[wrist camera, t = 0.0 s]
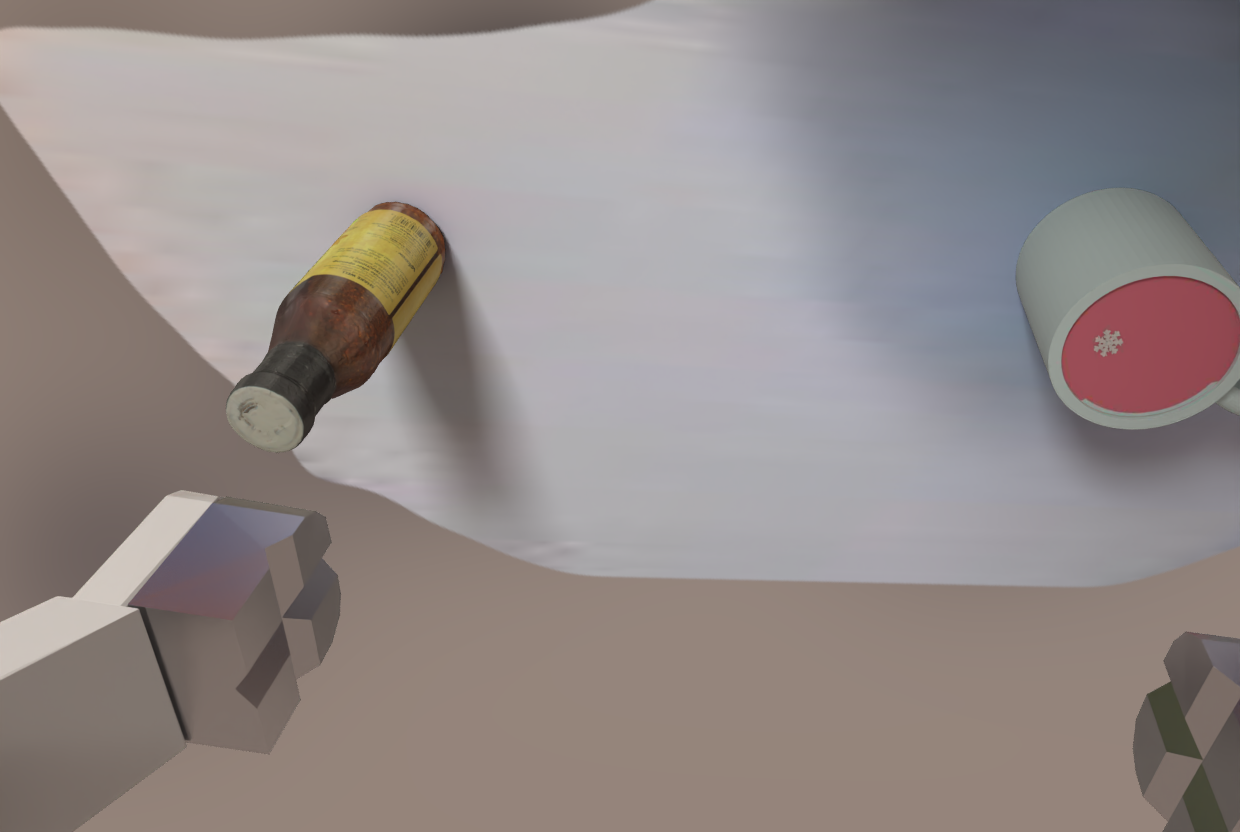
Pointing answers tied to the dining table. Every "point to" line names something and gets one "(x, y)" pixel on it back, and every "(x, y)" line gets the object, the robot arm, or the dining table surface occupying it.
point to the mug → (1130, 311)
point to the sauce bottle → (338, 324)
